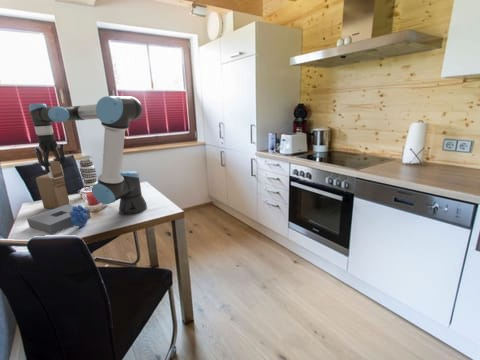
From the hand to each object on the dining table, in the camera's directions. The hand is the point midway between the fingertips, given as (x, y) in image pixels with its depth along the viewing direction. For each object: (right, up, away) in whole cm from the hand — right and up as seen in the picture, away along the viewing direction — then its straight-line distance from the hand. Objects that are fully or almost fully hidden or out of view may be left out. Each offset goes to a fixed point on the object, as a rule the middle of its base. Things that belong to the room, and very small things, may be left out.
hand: (56, 176), depth 140 cm
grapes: (+22, -26, -11) cm, 36 cm away
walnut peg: (0, -5, +2) cm, 6 cm away
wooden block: (-13, -18, +19) cm, 30 cm away
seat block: (+6, -25, -5) cm, 26 cm away
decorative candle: (-2, -12, +38) cm, 40 cm away
